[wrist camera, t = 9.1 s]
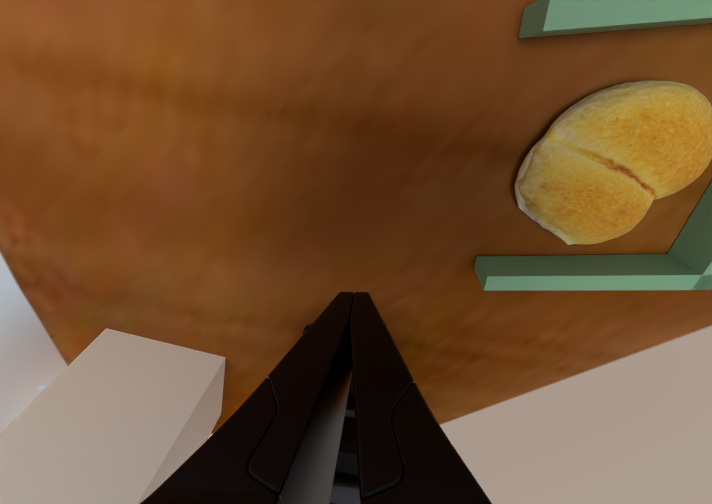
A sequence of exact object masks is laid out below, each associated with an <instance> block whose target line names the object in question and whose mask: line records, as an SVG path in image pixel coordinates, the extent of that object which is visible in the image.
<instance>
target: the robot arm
mask: <svg viewBox="0 0 712 504" xmlns="http://www.w3.org/2000/svg"><path fill="white" fill-rule="evenodd" d="M140 504H492V503H491V502H490V500H489V499H488V497H487V496H486V494H485V493H484V492H483V490H482V488H481V487H480V485H479V484H478V483H477V481H476V479H475V478H474V477H473V475H472V474H471V472H470V471H469V469H468V468H467V466H466V465H465V463H464V462H463V460H462V459H461V457H460V456H459V454H458V453H457V451H456V450H455V448H454V447H453V446H452V444H451V443H450V441H449V440H448V438H447V436H446V435H445V433H444V432H443V430H442V429H441V427H440V425H439V424H438V422H437V421H436V419H435V417H434V416H433V414H432V412H431V410H430V409H429V407H428V405H427V403H426V401H425V400H424V398H423V396H422V394H421V392H420V390H419V388H418V387H417V385H416V383H414V379H413V377H412V375H411V373H410V371H409V370H408V368H407V366H406V364H405V362H404V360H403V358H402V356H401V354H400V352H399V350H398V348H397V346H396V345H395V343H394V341H393V339H392V337H391V335H390V333H389V331H388V329H387V327H386V325H385V323H384V321H383V320H382V318H381V316H380V314H379V312H378V310H377V308H376V306H375V304H374V302H373V300H372V298H371V297H370V295H369V293H368V292H355V293H353V292H340V293H339V294H338V295H337V296H336V297H335V298H334V300H333V301H332V302H331V303H330V304H329V305H328V307H327V308H326V309H325V310H324V311H323V312H322V313H321V315H320V316H319V317H318V318H317V319H316V320H315V322H314V323H313V324H312V325H311V326H308V327H305V328H304V331H303V336H302V337H301V338H300V339H299V340H298V341H297V343H296V344H295V345H294V346H293V347H292V348H291V350H290V351H289V352H288V353H287V354H286V355H285V356H284V358H283V359H282V360H281V361H280V362H279V363H278V365H277V366H276V367H275V368H274V369H273V370H272V372H271V373H270V374H269V375H268V378H265V380H264V381H263V382H262V383H261V384H260V385H259V387H258V388H257V389H256V390H255V391H254V392H253V393H252V394H251V396H250V397H249V398H248V399H247V400H246V401H245V402H244V403H243V404H242V405H241V407H240V408H239V409H238V410H237V411H236V412H235V413H234V414H233V415H232V416H231V417H230V418H229V419H228V420H227V421H226V422H225V423H224V424H223V425H222V426H221V427H220V428H219V429H218V430H217V431H216V432H215V433H214V434H213V435H212V436H211V437H210V438H209V439H208V440H207V441H206V442H205V443H204V444H203V445H202V446H201V447H200V448H198V449H197V450H196V451H195V452H194V453H193V454H192V455H191V456H190V457H189V458H188V459H187V460H186V461H185V462H184V463H183V464H182V465H181V466H180V467H179V468H178V469H177V470H176V471H175V472H174V473H173V474H172V475H171V476H170V477H169V478H168V479H167V480H165V481H164V482H163V483H162V484H161V485H160V486H159V487H158V488H157V489H156V490H155V491H154V492H153V493H152V494H151V495H149V496H148V497H147V498H146V499H145V500H144V501H142V502H141V503H140Z"/></svg>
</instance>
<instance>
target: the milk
mask: <svg viewBox="0 0 712 504" xmlns="http://www.w3.org/2000/svg"><path fill="white" fill-rule="evenodd" d="M225 359H226V357H222V356H218V355H213V354H209V353H205V352H201V351H197V350H193V349H189V348H185V347H181V346H177V345H173V344H169V343H164V342H160V341H156V340H152V339H148V338H144V337H140V336H136V335H132V334H128V333H124V332H119V331H115V330H111V329H107V328H106V329H105V330H104V331H103V332H102V333H101V334H100V335H99V336H98V337H97V338H96V339H95V340H94V341H93V342H92V343H91V344H90V345H89V346H88V347H87V348H86V349H85V350H84V351H83V352H82V353H81V354H80V355H79V356H78V357H77V358H76V359H75V360H74V361H73V362H72V363H71V364H70V365H69V366H68V367H67V368H66V369H65V370H64V371H63V372H62V373H61V374H60V375H59V376H58V377H57V378H56V379H55V380H54V381H53V382H52V383H51V384H50V385H49V386H48V387H47V388H46V389H45V390H44V391H43V392H42V393H41V394H40V395H39V396H38V397H37V398H36V399H35V400H34V401H33V402H32V403H31V404H30V405H29V406H28V407H27V408H26V409H25V410H24V411H23V412H22V413H21V414H20V415H19V416H18V417H17V418H16V419H15V420H14V421H13V422H12V423H11V424H10V425H9V426H8V427H7V428H6V429H5V430H4V431H3V432H2V433H1V434H0V504H140V503H141V502H142V501H144V500H145V499H146V498H147V497H148V496H149V495H151V494H152V493H153V492H154V491H155V490H156V489H157V488H158V487H159V486H160V485H161V484H162V483H163V482H164V481H165V480H167V479H168V478H169V477H170V476H171V475H172V474H173V473H174V472H175V471H176V470H177V469H178V468H179V467H180V466H181V465H182V464H183V463H184V462H185V461H186V460H187V459H188V458H189V457H190V456H191V455H192V454H193V453H194V452H195V451H196V450H197V449H198V448H200V447H201V446H202V445H203V444H204V443H205V442H206V441H207V439H208V437H209V435H210V434H211V432H212V430H213V428H214V426H215V424H216V422H217V420H218V419H219V417H220V415H221V410H222V397H223V385H224V372H225Z"/></svg>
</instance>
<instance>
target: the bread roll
mask: <svg viewBox="0 0 712 504" xmlns="http://www.w3.org/2000/svg"><path fill="white" fill-rule="evenodd" d="M711 159H712V106H711V104H710V103H709V101H708V100H707V98H706V97H705V96H704V95H702V94H701V93H700V92H699V91H697V90H696V89H695V88H693V87H691V86H689V85H686V84H682V83H678V82H673V81H654V80H647V81H638V82H627V83H623V84H619V85H615V86H612V87H609V88H606V89H602V90H600V91H597V92H595V93H593V94H591V95H589V96H587V97H585V98H583V99H581V100H580V101H578V102H577V103H576V104H574V105H573V106H571V107H570V108H569V109H567V110H566V111H565V112H564V113H562V114H561V115H560V116H559V117H558V118H557V119H556V120H555V121H554V122H553V123H552V125H551V126H550V128H549V129H548V131H547V132H546V134H545V135H544V137H543V138H542V139H541V140H539V141H538V142H537V144H535V145H534V147H533V148H532V149H531V150H530V151H529V153H528V154H527V156H526V158H525V159H524V161H523V163H522V165H521V167H520V169H519V172H518V176H517V179H516V182H515V195H516V200H517V203H518V207H519V208H520V209H521V210H522V211H523V212H524V213H525V214H527V215H528V216H529V217H530V218H531V219H532V220H534V221H535V222H537V223H539V224H540V225H541V227H543V228H545V229H547V230H549V231H551V232H552V233H553V234H554V235H556V236H558V237H559V238H560V239H562V240H563V241H564V242H565V243H566V244H567V245H571V244H596V243H601V242H604V241H607V240H611V239H614V238H617V237H619V236H622V235H624V234H625V233H627V232H629V231H630V230H632V229H633V228H634V227H635V226H636V225H637V224H638V223H639V222H640V221H641V220H642V218H643V217H644V216H645V214H646V212H647V211H648V209H649V207H650V205H651V204H652V201H653V200H655V199H659V198H662V197H665V196H668V195H671V194H674V193H676V192H678V191H680V190H682V189H683V188H685V187H686V186H688V185H689V184H690V183H692V182H693V181H694V180H695V179H697V178H698V177H699V176H700V175H701V174H702V173H703V171H704V170H705V169H706V167H707V166H708V164H709V163H710V161H711Z"/></svg>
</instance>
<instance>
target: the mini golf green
mask: <svg viewBox="0 0 712 504" xmlns="http://www.w3.org/2000/svg"><path fill="white" fill-rule="evenodd" d="M708 23H712V0H538V1H536V2H534V3H532V4H530V5H528V6H526V7H524V11H523V16H522V21H521V27H520V32H519V37H518V38H530V37H543V36H556V35H569V34H581V33H594V32H607V31H619V30H632V29H645V28H658V27H670V26H683V25H696V24H708ZM474 272H475V274H476V276H477V278H478V280H479V282H480V284H481V286H482V288H483V290H712V181H711V183H710V185H709V186H708V188H707V190H706V191H705V193H704V194H703V196H702V198H701V199H700V201H699V203H698V204H697V206H696V208H695V209H694V211H693V213H692V214H691V216H690V217H689V219H688V221H687V222H686V224H685V226H684V227H683V229H682V231H681V232H680V234H679V236H678V237H677V239H676V240H675V242H674V244H673V245H672V247H671V249H670V250H669V252H668V254H628V255H549V256H476V259H475V265H474Z"/></svg>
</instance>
